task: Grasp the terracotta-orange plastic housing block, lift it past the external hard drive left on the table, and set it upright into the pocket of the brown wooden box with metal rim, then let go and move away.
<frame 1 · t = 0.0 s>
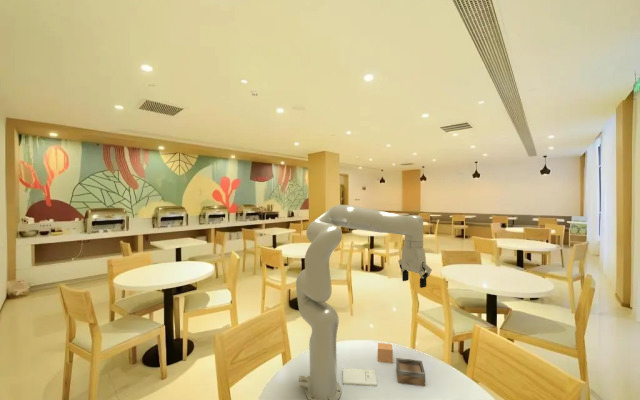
hand: (413, 283, 117), 31 cm above the table, tool pointing down, fingers open, 9 cm apart
housing: (385, 359, 116), on the table
external hard drive: (359, 380, 104), on the table
brown wooden box: (410, 377, 104), on the table
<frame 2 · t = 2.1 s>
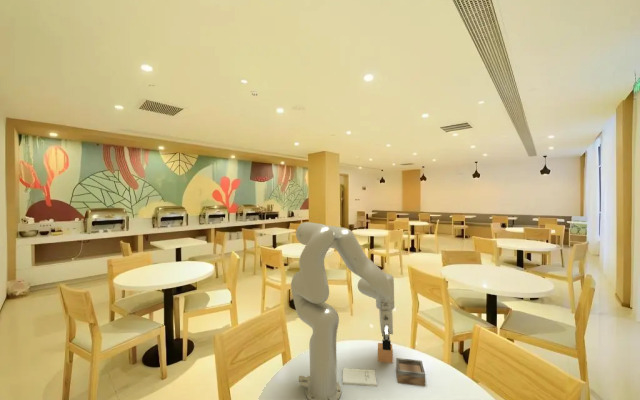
hand: (386, 342, 116), 7 cm above the table, tool pointing down, fingers open, 9 cm apart
nothing on the table moved.
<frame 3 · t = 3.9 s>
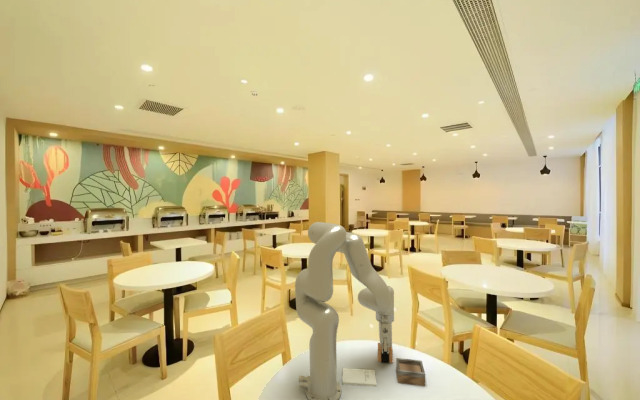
hand: (385, 357, 116), 0 cm above the table, tool pointing down, fingers closed on housing, 4 cm apart
housing: (385, 358, 116), on the table, touching gripper
everything else where it was.
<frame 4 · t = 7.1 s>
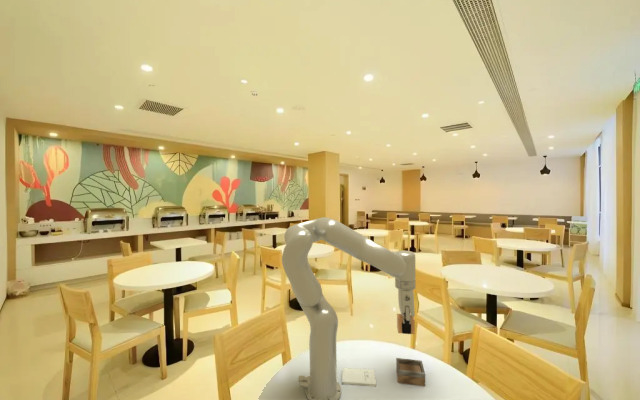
hand: (405, 329, 106), 17 cm above the table, tool pointing down, fingers closed on housing, 4 cm apart
housing: (405, 330, 106), point 17 cm above the table, touching gripper
everything else where it was.
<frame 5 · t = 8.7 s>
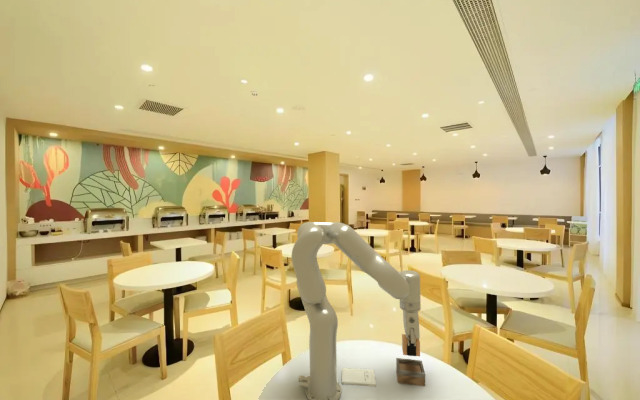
hand: (410, 350, 104), 10 cm above the table, tool pointing down, fingers closed on housing, 4 cm apart
housing: (410, 352, 104), point 10 cm above the table, touching gripper
everything else where it was.
when the fingers open (5 cm above the table, at t = 10.3 s): housing drops 2 cm, resting on brown wooden box.
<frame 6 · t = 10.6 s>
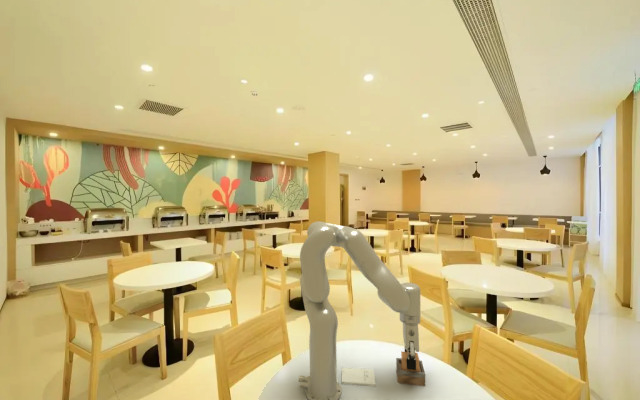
hand: (410, 362, 104), 6 cm above the table, tool pointing down, fingers open, 7 cm apart
housing: (410, 369, 104), point 3 cm above the table, touching brown wooden box
everything else where it was.
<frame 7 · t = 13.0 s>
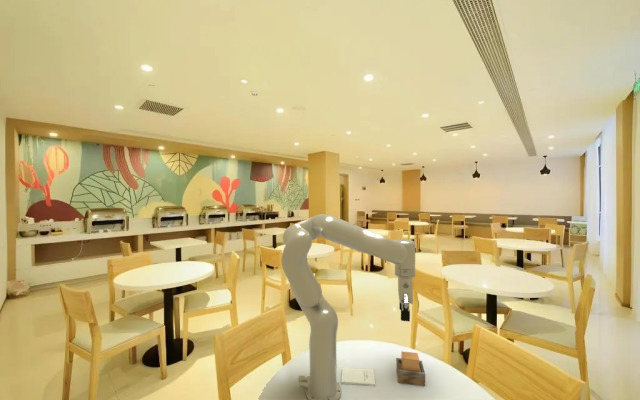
hand: (404, 315, 107), 23 cm above the table, tool pointing down, fingers open, 9 cm apart
nothing on the table moved.
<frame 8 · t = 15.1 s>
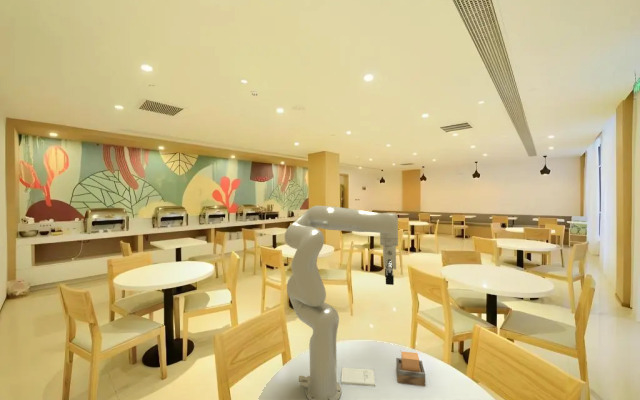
hand: (389, 280, 118), 32 cm above the table, tool pointing down, fingers open, 9 cm apart
nothing on the table moved.
at the end: housing 0.2 cm off-centre on the brown wooden box, point 3.0 cm above the brown wooden box's base; housing tilted 0°; the gripper is holding nothing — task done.
